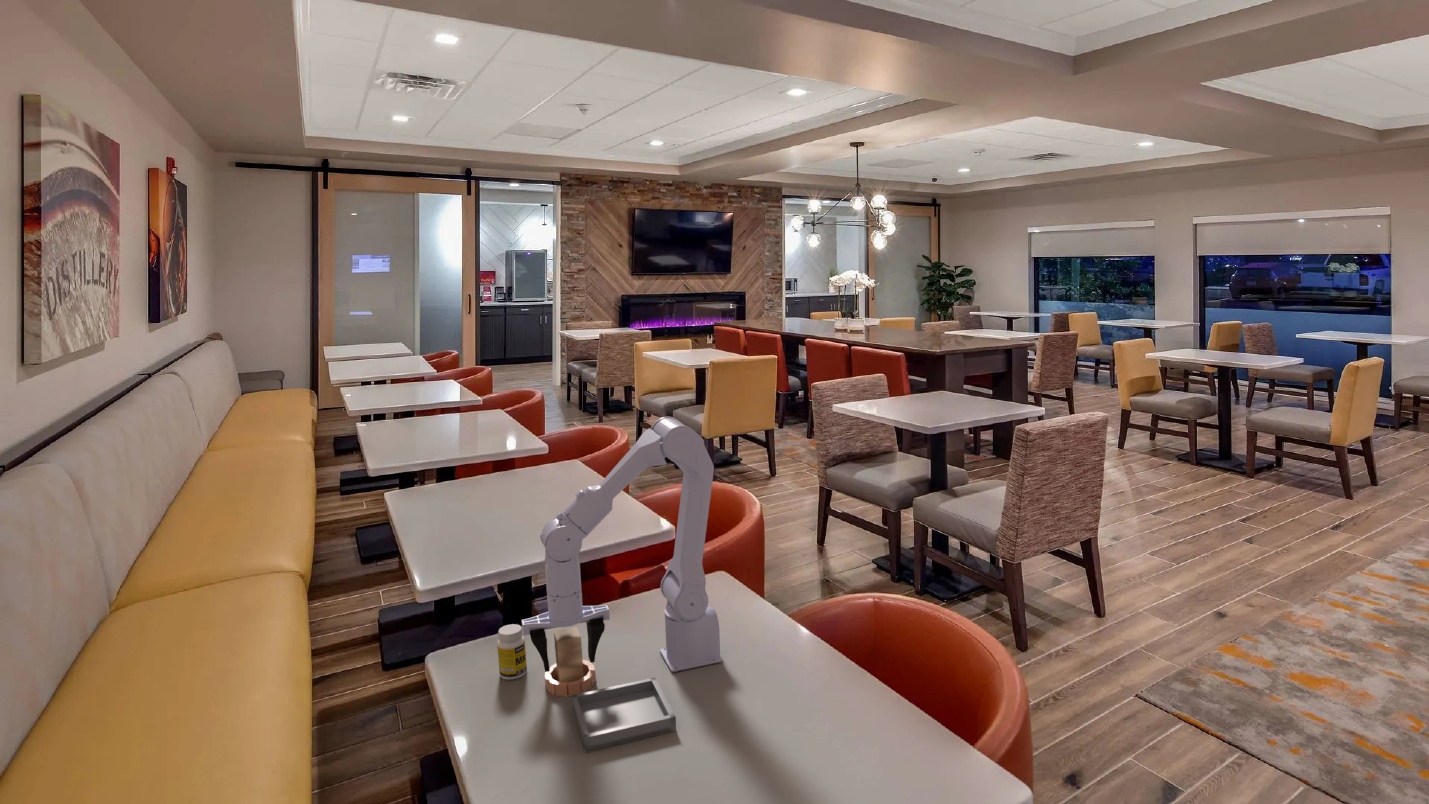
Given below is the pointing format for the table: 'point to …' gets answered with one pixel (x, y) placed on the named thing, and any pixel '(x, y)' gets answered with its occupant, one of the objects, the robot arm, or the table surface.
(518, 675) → the supplement bottle
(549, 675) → the segmented block ring
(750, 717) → the table surface
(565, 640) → the oak peg
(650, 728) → the tray
